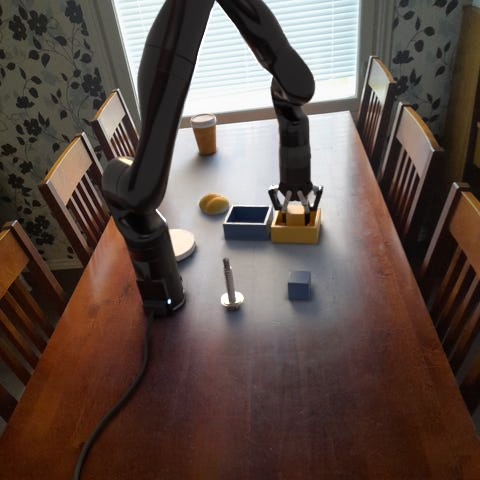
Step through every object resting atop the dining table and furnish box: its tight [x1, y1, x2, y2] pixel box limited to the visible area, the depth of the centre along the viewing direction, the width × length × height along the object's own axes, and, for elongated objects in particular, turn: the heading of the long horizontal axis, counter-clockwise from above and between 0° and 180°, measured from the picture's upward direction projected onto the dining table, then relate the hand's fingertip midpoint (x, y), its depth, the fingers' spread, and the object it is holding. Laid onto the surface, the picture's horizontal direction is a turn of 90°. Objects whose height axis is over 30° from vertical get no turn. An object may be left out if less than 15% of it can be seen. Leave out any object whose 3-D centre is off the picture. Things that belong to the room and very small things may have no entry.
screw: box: [220, 257, 244, 311], centre depth 96 cm, size 13×5×5 cm
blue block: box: [287, 269, 312, 301], centre depth 100 cm, size 4×4×4 cm
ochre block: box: [286, 204, 305, 226], centre depth 117 cm, size 4×4×4 cm
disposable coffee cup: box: [189, 112, 218, 156], centre depth 163 cm, size 10×10×12 cm
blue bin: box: [222, 204, 274, 241], centre depth 122 cm, size 10×12×4 cm
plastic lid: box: [169, 228, 197, 262], centre depth 119 cm, size 14×14×2 cm
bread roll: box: [198, 192, 230, 216], centre depth 133 cm, size 8×9×4 cm
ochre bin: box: [270, 207, 322, 244], centre depth 118 cm, size 10×12×4 cm
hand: (296, 223), depth 118 cm, fingers closed on ochre block, 4 cm apart
